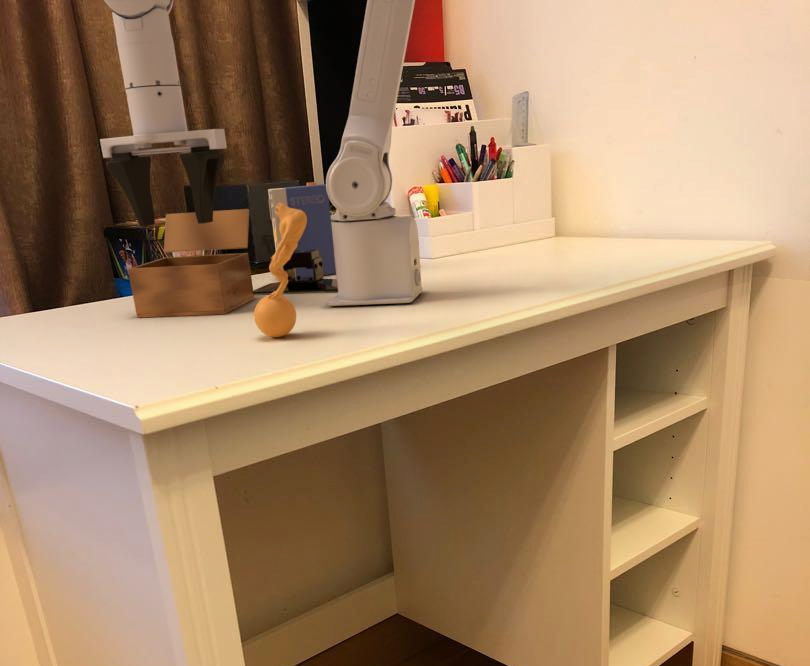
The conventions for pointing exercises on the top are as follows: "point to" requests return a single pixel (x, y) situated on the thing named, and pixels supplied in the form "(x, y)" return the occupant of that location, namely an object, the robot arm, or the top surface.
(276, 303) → the figurine
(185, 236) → the flap
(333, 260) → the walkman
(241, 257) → the carton
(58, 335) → the top surface
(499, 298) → the top surface
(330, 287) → the black angular piece
